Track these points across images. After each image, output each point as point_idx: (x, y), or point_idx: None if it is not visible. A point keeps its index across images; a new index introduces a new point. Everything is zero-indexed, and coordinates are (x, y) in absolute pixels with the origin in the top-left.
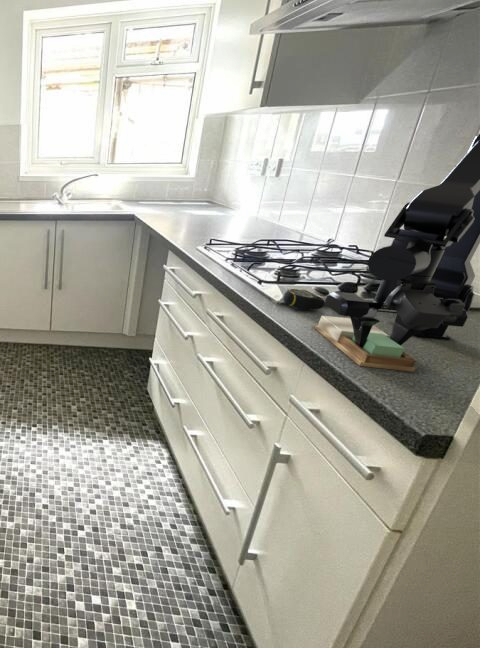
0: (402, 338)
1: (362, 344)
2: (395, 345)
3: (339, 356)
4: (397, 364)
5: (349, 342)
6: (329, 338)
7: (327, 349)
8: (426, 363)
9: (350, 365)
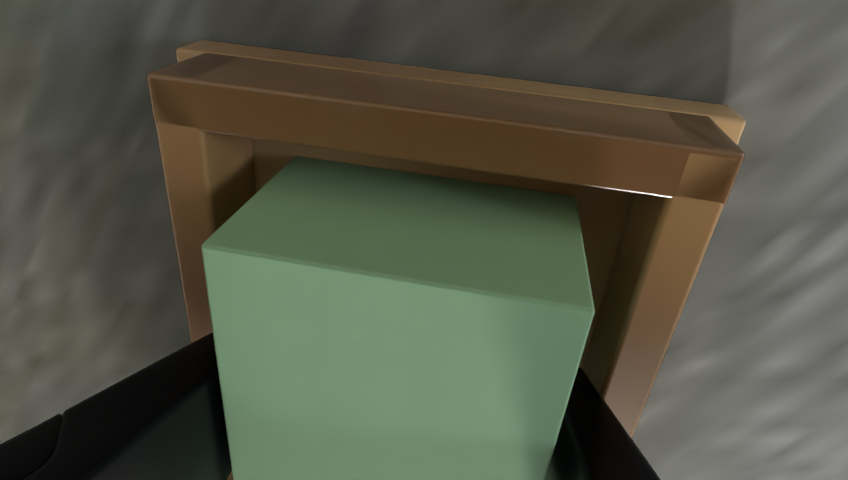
0: (136, 426)
1: (585, 397)
2: (276, 318)
3: (760, 294)
4: (350, 76)
5: None
6: None
7: (750, 409)
8: (24, 222)
9: (839, 106)
